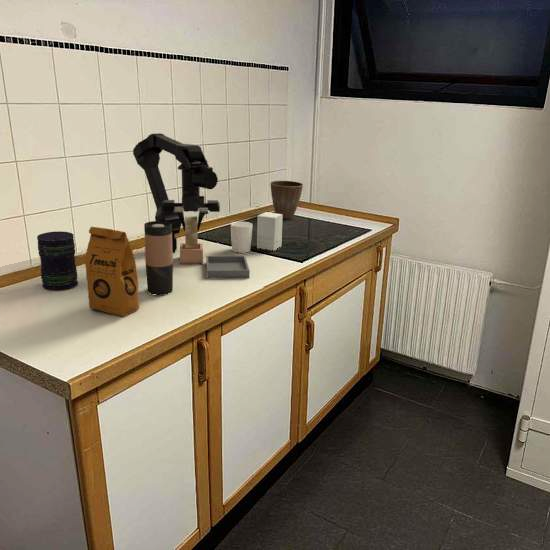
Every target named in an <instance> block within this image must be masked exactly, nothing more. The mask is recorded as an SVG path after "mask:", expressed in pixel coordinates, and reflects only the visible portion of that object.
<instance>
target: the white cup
mask: <svg viewBox="0 0 550 550" xmlns="http://www.w3.org/2000/svg"><path fill="white" fill-rule="evenodd" d="M252 234H253V223H251V222H249V221H233V222H231V223H230V240H231V251H232V252H233V251H234V253H236V252H239V253H238V254H246V252H247V253H249V252H251V244H252V238H253V237H252Z"/></svg>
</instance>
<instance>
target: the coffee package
mask: <svg viewBox="0 0 550 550" xmlns="http://www.w3.org/2000/svg"><path fill="white" fill-rule="evenodd" d="M88 233H89V234H90V236H89V241H88V243H87V248H86V252H85V257H84V264H85V273H86V274H85V276H86V282H87V283H86V286H87V287H86V288H87V293H88V294H87V295H88V296H87V298H88V306H89V307H88V308H89V309H91V310H92V309H93V310H97V311H101V312H104V313H107V314H111V315H116V316H120V317H123V318H124V317H126V316H127V315H130V314H133V313H134V312H137V311H138V310H139V308H140V304H139V299H140V297H139V279H138V272H137V263H136V258H135V256H134V253H133V249H132V247H131V244H130V243H131V242H130V241H129V238H128V235H127V232H125V231H121V230H115V229H111V228H107V227H106V228H104V227H97V226H90V228H89V230H88Z"/></svg>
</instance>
